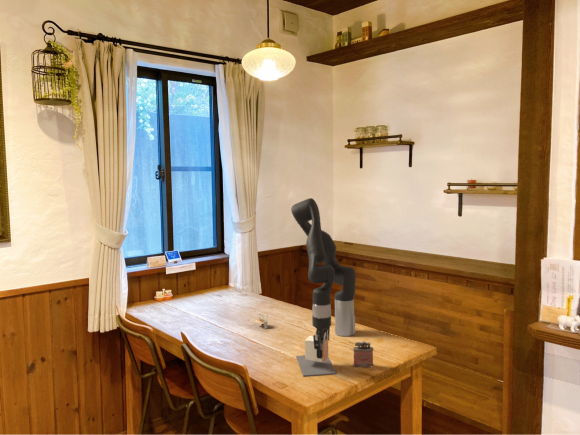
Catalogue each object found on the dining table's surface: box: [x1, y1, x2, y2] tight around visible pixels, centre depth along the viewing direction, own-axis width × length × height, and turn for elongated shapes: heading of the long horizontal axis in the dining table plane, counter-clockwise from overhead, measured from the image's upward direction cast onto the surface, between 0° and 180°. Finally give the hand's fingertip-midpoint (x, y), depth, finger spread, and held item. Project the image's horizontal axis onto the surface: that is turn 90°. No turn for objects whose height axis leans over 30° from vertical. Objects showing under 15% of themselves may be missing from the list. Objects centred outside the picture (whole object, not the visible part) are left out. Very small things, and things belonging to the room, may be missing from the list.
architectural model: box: [255, 312, 268, 330], centre depth 228 cm, size 3×7×7 cm, turn 32°
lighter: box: [352, 340, 374, 368], centre depth 179 cm, size 8×3×10 cm, turn 92°
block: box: [304, 335, 329, 362], centre depth 179 cm, size 8×6×8 cm
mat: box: [295, 354, 337, 377], centre depth 181 cm, size 13×19×1 cm
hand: (322, 355), depth 179 cm, fingers closed on block, 5 cm apart
